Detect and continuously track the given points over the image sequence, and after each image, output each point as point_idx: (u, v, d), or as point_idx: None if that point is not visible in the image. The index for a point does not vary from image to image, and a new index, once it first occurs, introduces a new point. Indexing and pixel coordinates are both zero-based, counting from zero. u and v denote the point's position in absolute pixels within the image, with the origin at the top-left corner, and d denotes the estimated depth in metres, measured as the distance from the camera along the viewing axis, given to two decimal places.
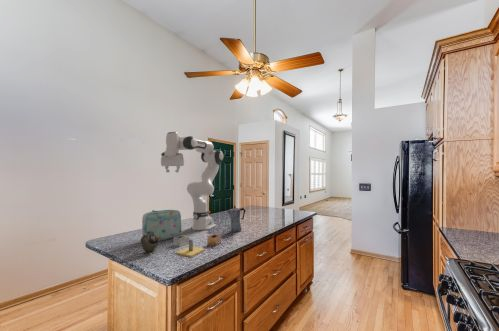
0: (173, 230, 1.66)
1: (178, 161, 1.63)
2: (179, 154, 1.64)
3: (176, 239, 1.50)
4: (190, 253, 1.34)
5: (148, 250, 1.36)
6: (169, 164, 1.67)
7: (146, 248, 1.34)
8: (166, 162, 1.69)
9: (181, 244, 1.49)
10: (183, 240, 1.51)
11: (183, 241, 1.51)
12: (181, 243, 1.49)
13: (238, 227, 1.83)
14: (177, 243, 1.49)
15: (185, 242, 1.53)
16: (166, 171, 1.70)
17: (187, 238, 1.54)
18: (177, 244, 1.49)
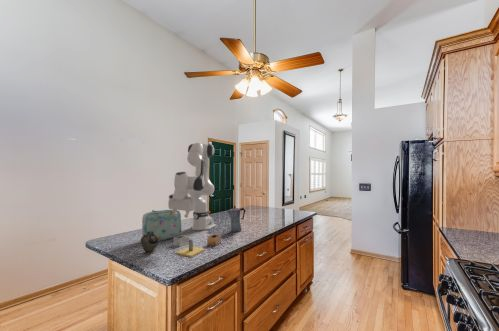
0: (173, 230, 1.66)
1: (188, 206, 1.48)
2: (189, 198, 1.50)
3: (176, 239, 1.50)
4: (190, 253, 1.34)
5: (148, 250, 1.36)
6: (177, 208, 1.53)
7: (146, 248, 1.34)
8: (174, 205, 1.54)
9: (181, 244, 1.49)
10: (183, 240, 1.51)
11: (183, 241, 1.51)
12: (181, 243, 1.49)
13: (238, 227, 1.83)
14: (177, 243, 1.49)
15: (185, 242, 1.53)
16: (174, 215, 1.55)
17: (187, 238, 1.54)
18: (177, 244, 1.49)
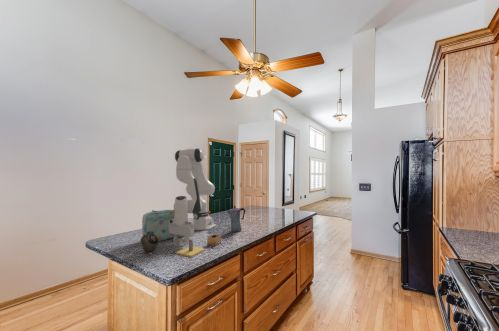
0: None
1: (188, 231, 1.48)
2: (189, 223, 1.50)
3: (176, 239, 1.50)
4: (190, 253, 1.34)
5: (148, 250, 1.36)
6: (177, 233, 1.52)
7: (146, 248, 1.34)
8: (174, 230, 1.54)
9: (181, 244, 1.49)
10: (183, 240, 1.51)
11: (183, 241, 1.51)
12: (181, 243, 1.49)
13: (238, 227, 1.83)
14: (177, 243, 1.49)
15: None
16: None
17: None
18: (177, 244, 1.49)
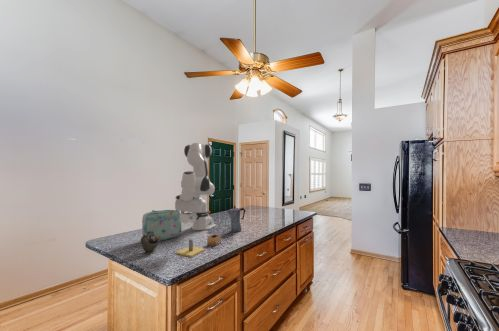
0: (173, 230, 1.66)
1: (196, 207, 1.40)
2: (197, 198, 1.42)
3: (182, 215, 1.42)
4: (190, 253, 1.34)
5: (148, 250, 1.36)
6: (185, 209, 1.45)
7: (146, 248, 1.34)
8: (181, 206, 1.46)
9: (188, 220, 1.41)
10: (190, 216, 1.43)
11: (190, 217, 1.43)
12: (188, 219, 1.41)
13: (238, 227, 1.83)
14: (184, 219, 1.41)
15: (192, 219, 1.44)
16: None
17: None
18: (183, 220, 1.41)
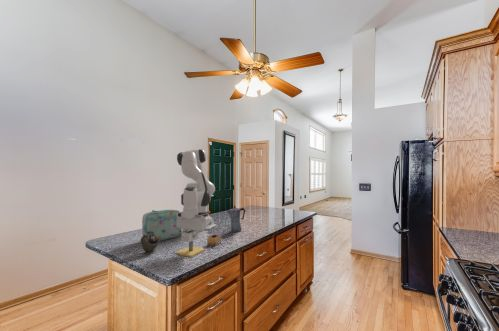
0: (173, 230, 1.66)
1: (198, 226, 1.33)
2: (199, 216, 1.35)
3: (185, 234, 1.35)
4: (190, 253, 1.34)
5: (148, 250, 1.36)
6: (187, 227, 1.38)
7: (146, 248, 1.34)
8: (183, 224, 1.39)
9: (190, 239, 1.34)
10: (192, 235, 1.36)
11: (192, 236, 1.36)
12: (190, 238, 1.34)
13: (238, 227, 1.83)
14: (186, 239, 1.34)
15: None
16: None
17: None
18: (186, 239, 1.34)
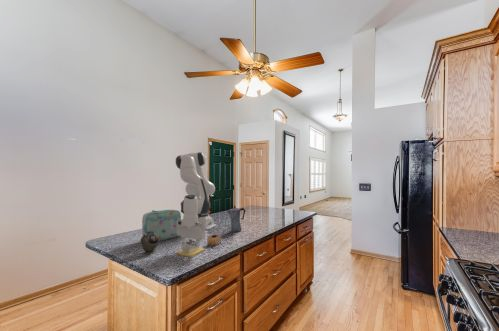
0: (173, 230, 1.66)
1: (199, 234, 1.33)
2: (199, 225, 1.35)
3: (185, 245, 1.35)
4: (190, 253, 1.34)
5: (148, 250, 1.36)
6: (187, 235, 1.38)
7: (146, 248, 1.34)
8: (183, 232, 1.39)
9: (190, 251, 1.34)
10: (193, 246, 1.36)
11: (193, 247, 1.36)
12: (190, 249, 1.34)
13: (238, 227, 1.83)
14: (186, 250, 1.34)
15: (195, 248, 1.38)
16: (183, 242, 1.40)
17: None
18: (186, 251, 1.34)
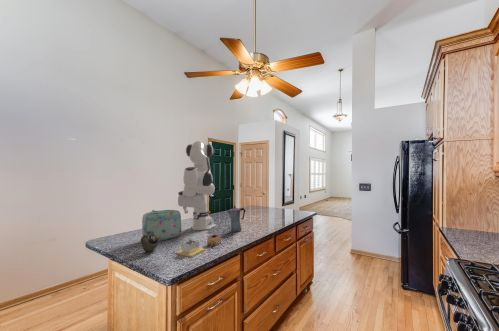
0: (173, 230, 1.66)
1: (199, 203, 1.42)
2: (200, 194, 1.43)
3: (185, 245, 1.35)
4: (190, 253, 1.34)
5: (148, 250, 1.36)
6: (188, 205, 1.46)
7: (146, 248, 1.34)
8: (184, 202, 1.47)
9: (190, 251, 1.34)
10: (193, 246, 1.36)
11: (193, 247, 1.36)
12: (190, 249, 1.34)
13: (238, 227, 1.83)
14: (186, 250, 1.34)
15: (195, 248, 1.38)
16: None
17: (197, 244, 1.39)
18: (186, 251, 1.34)
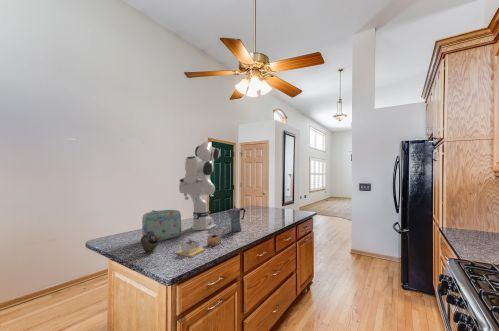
0: (173, 230, 1.66)
1: (199, 189, 1.52)
2: (199, 181, 1.53)
3: (185, 245, 1.35)
4: (190, 253, 1.34)
5: (148, 250, 1.36)
6: (188, 191, 1.56)
7: (146, 248, 1.34)
8: (185, 189, 1.58)
9: (190, 251, 1.34)
10: (193, 246, 1.36)
11: (193, 247, 1.36)
12: (190, 249, 1.34)
13: (238, 227, 1.83)
14: (186, 250, 1.34)
15: (195, 248, 1.38)
16: (185, 198, 1.59)
17: (197, 244, 1.39)
18: (186, 251, 1.34)
